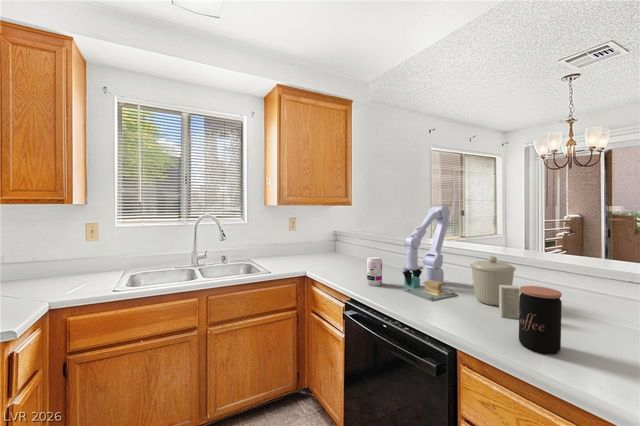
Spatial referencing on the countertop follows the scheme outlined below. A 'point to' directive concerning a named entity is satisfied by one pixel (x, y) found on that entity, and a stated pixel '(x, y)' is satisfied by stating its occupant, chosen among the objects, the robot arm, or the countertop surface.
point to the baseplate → (430, 294)
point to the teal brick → (413, 282)
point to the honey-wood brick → (433, 287)
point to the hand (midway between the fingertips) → (412, 283)
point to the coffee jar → (540, 319)
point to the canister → (490, 279)
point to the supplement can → (374, 271)
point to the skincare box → (509, 301)
